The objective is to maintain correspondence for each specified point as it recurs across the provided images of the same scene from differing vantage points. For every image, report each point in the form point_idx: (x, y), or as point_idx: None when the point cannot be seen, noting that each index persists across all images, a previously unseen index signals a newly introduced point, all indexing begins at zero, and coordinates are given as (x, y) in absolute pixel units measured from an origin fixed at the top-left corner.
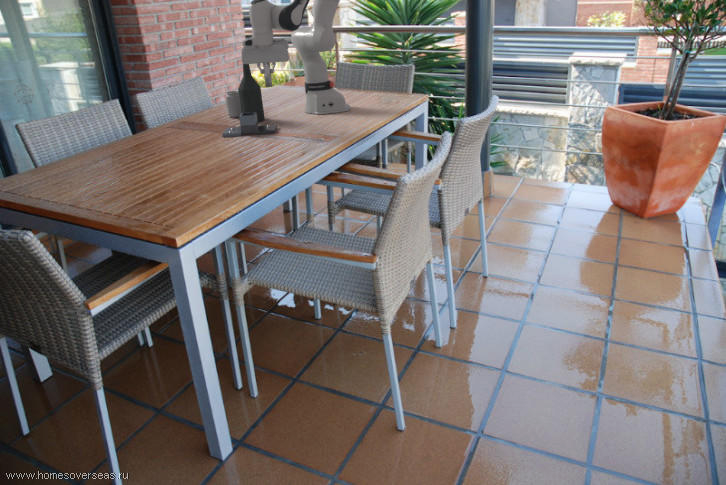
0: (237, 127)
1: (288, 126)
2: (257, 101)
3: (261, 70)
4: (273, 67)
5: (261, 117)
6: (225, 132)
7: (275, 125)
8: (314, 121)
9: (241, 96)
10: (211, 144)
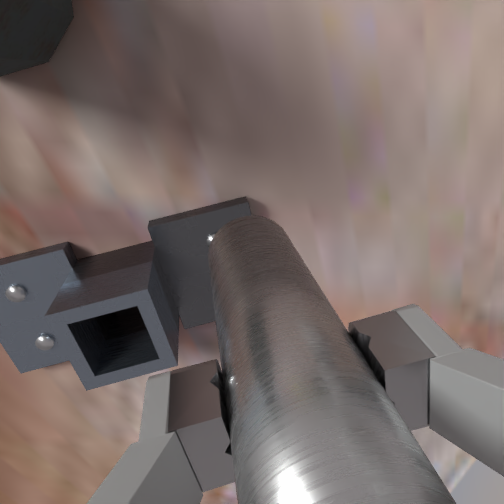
0: (30, 265)
1: (303, 169)
2: (5, 16)
3: (199, 481)
4: (487, 448)
5: (66, 18)
6: (23, 354)
7: None
8: (439, 55)
9: None
10: (47, 445)
